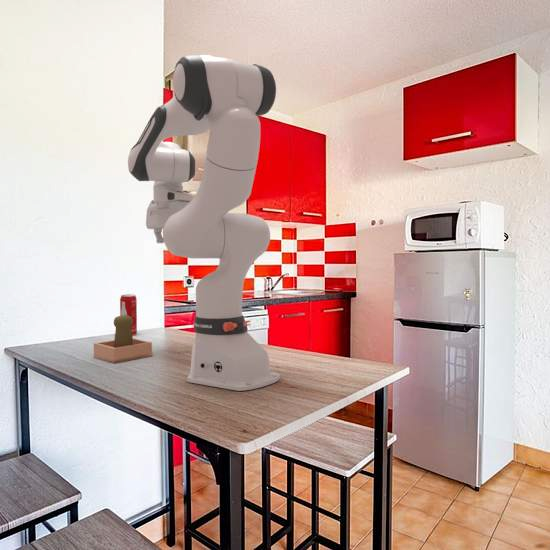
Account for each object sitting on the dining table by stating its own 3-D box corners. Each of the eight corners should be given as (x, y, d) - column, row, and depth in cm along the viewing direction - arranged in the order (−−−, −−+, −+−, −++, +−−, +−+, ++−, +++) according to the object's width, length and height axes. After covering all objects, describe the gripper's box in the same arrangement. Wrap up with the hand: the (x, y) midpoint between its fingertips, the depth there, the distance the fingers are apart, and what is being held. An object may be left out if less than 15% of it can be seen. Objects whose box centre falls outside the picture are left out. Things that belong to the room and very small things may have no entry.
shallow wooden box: (152, 356, 126) (151, 342, 125) (114, 363, 117) (114, 348, 117) (130, 350, 133) (130, 337, 133) (93, 357, 124) (93, 343, 124)
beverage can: (133, 333, 165) (132, 293, 164) (140, 335, 160) (139, 294, 159) (117, 335, 161) (116, 294, 160) (124, 337, 156) (123, 295, 155)
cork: (108, 355, 123) (107, 316, 122) (120, 351, 129) (120, 314, 128) (127, 356, 121) (126, 317, 121) (139, 352, 127) (138, 314, 127)
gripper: (140, 199, 138) (141, 243, 138) (180, 193, 124) (180, 241, 125) (157, 201, 142) (158, 244, 143) (197, 195, 129) (197, 242, 130)
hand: (169, 242), depth 134 cm, fingers open, 8 cm apart
